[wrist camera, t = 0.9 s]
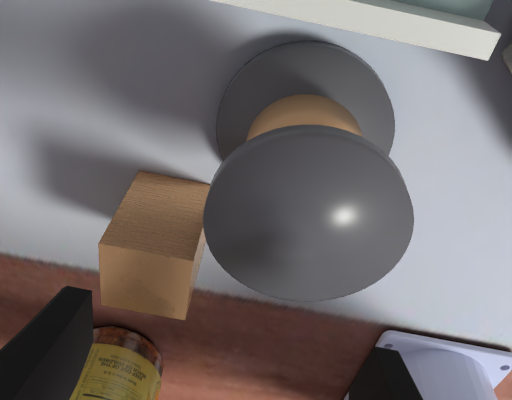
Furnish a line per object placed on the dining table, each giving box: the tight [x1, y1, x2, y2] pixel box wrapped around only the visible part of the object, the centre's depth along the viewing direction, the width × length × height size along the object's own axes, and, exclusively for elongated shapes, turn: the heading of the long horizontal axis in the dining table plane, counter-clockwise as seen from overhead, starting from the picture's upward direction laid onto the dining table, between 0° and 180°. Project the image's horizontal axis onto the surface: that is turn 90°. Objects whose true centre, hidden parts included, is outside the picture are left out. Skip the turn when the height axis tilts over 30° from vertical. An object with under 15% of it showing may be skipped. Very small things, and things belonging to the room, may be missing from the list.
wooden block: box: [98, 171, 210, 320], centre depth 19 cm, size 4×4×5 cm
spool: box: [203, 41, 414, 301], centre depth 15 cm, size 7×7×7 cm
